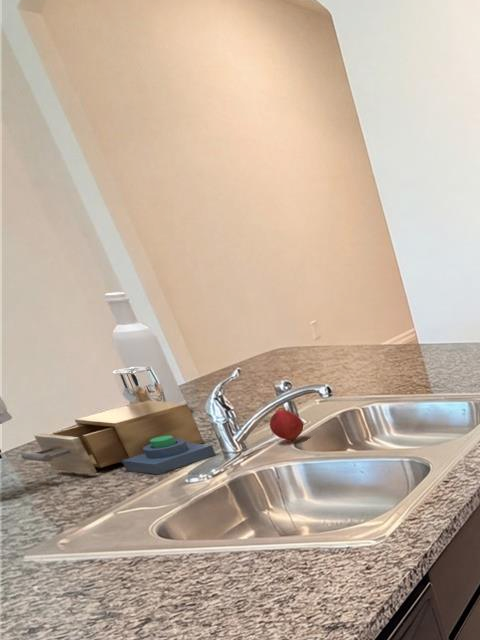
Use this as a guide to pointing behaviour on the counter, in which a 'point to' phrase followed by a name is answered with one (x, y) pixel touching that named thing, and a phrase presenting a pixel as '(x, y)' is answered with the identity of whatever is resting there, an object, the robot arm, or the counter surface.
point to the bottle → (140, 345)
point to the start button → (162, 441)
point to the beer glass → (139, 384)
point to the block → (168, 457)
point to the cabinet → (147, 424)
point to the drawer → (79, 448)
